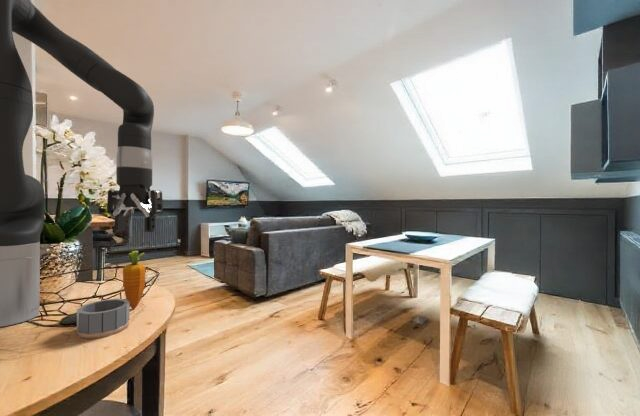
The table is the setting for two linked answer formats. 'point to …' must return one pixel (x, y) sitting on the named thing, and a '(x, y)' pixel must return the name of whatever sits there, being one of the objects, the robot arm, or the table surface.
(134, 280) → the carrot
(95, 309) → the cup
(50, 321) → the table surface
